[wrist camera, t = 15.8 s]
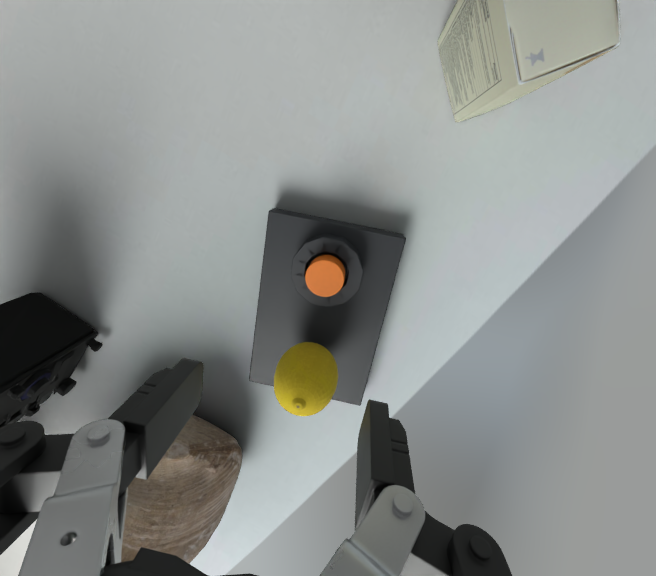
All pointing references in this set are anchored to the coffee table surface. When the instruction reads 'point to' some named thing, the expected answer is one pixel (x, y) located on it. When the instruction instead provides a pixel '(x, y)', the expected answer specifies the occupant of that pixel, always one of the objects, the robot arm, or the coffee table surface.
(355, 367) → the dark grey base plate
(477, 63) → the cosmetic box
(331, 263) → the button
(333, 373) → the lemon
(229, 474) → the seashell
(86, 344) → the camera
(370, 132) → the coffee table surface
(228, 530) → the coffee table surface
